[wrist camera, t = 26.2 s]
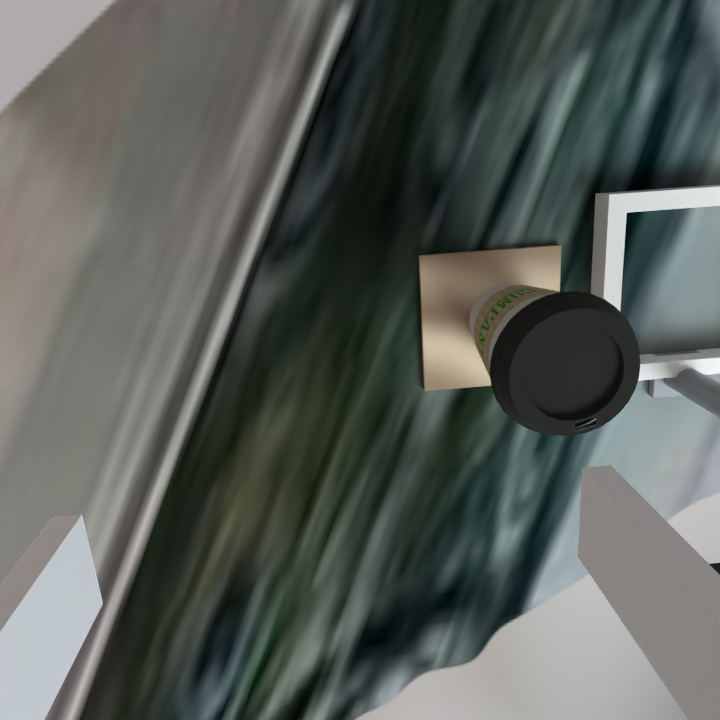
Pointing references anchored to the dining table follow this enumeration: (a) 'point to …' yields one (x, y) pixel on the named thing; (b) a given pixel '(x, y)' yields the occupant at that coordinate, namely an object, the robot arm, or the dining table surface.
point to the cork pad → (470, 305)
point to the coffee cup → (555, 356)
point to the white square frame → (662, 369)
